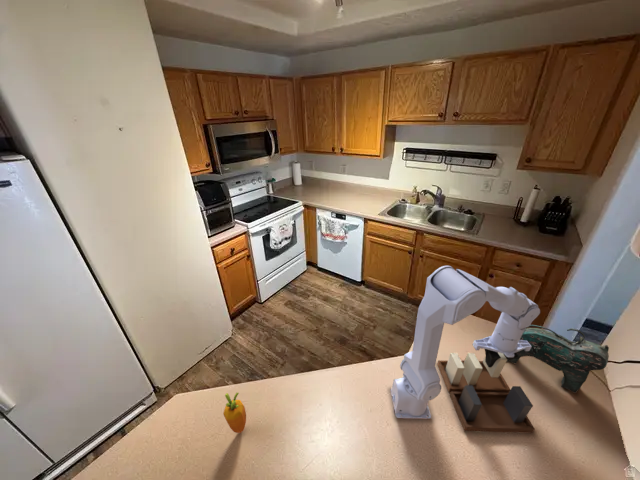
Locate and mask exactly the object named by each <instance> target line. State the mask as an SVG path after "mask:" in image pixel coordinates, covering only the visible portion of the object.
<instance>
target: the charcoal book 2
mask: <svg viewBox="0 0 640 480" xmlns="http://www.w3.org/2000/svg"><path fill="white" fill-rule="evenodd" d="M503 404H504V406H505V407H506V409H507V411H508V413H509V414H510V416H511V418H512V420H513V421H514V423H522V422H523V420H524V419H525V417H526V416H527V417H528V414H529V413H530V411H531V410H532V409H533V407H534V405H533V404H532V402H531V401H530V399H529V397H528V396H527V394H526V393H525V391H524V390H523V388H522V386H520V385H512V387H511V388H510V392H509V394H508V395H507V397H506V399H505V401H504V402H503Z"/></svg>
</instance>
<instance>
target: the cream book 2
mask: <svg viewBox="0 0 640 480" xmlns="http://www.w3.org/2000/svg"><path fill="white" fill-rule="evenodd" d="M464 358H465V359H464V360H463V361H464V364H463V366H464V368H465V369H464V371H463V375H464V377H465V379H466V381H467V383H468V385H475V384H476V382H477V380H478V378H479V376H480V373H481V371H482V369H483V368H482V366H481V364H480V363H479V361H480V360H478V359H479V358H478V357H477V355H476V354H475V352H467V354H466V355H465V357H464Z"/></svg>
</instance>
